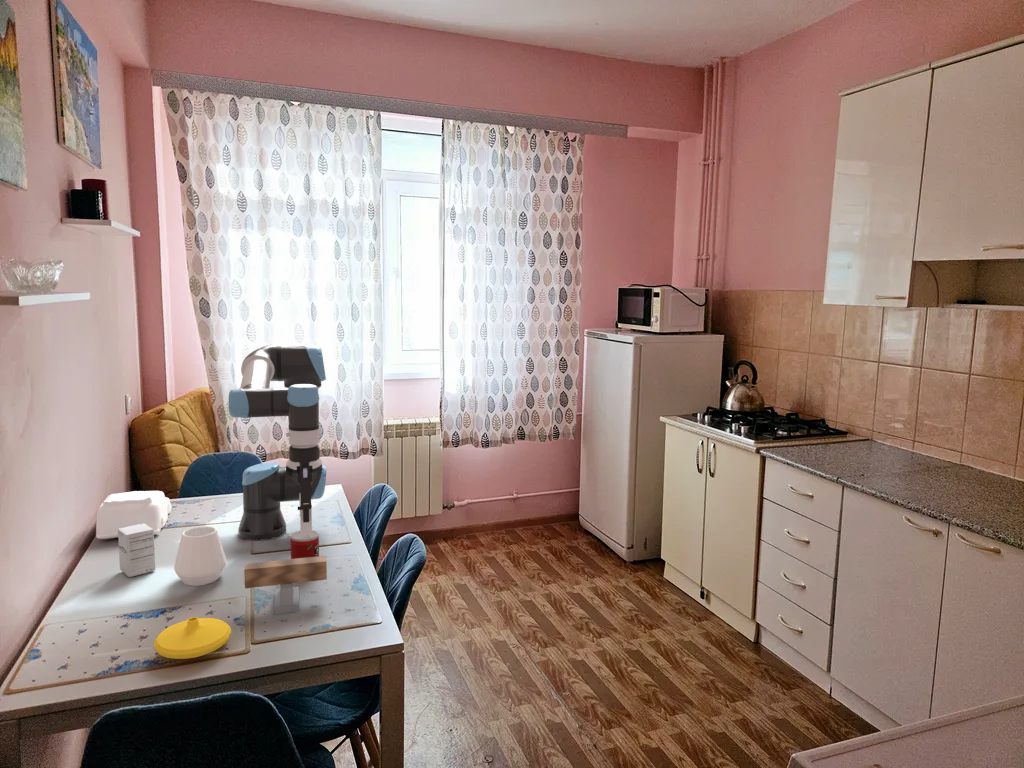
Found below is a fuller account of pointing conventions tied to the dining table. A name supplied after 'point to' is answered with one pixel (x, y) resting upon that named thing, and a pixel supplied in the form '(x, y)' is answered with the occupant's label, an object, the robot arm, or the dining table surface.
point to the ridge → (286, 599)
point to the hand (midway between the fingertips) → (305, 524)
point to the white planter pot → (200, 556)
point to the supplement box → (136, 549)
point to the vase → (192, 638)
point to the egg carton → (132, 512)
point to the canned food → (304, 545)
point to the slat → (285, 571)
